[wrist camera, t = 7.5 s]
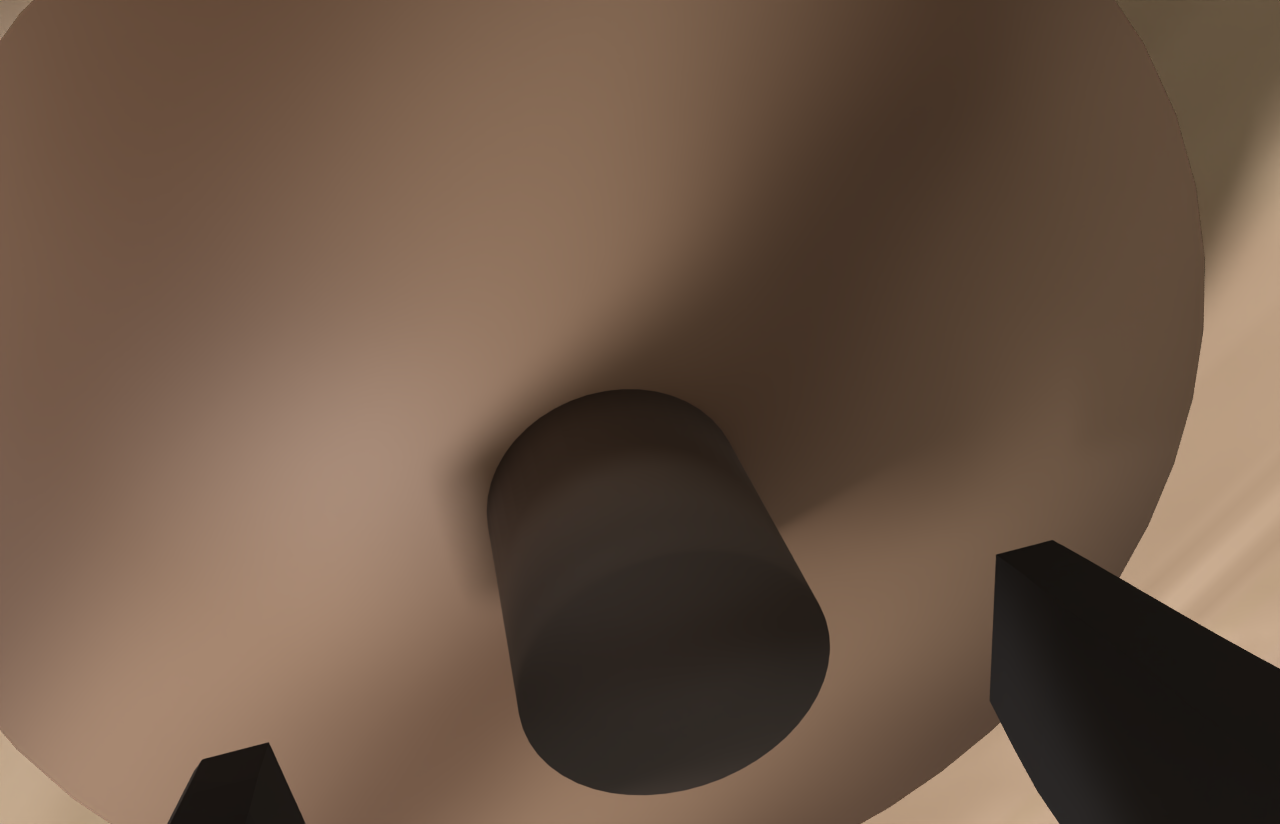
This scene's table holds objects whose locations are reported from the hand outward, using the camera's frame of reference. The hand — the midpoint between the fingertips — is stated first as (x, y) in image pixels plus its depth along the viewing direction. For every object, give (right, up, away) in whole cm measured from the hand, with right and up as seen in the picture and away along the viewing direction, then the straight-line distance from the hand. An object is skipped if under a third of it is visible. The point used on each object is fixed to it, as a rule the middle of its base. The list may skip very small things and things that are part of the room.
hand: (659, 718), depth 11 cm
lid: (-1, +2, +3) cm, 4 cm away
